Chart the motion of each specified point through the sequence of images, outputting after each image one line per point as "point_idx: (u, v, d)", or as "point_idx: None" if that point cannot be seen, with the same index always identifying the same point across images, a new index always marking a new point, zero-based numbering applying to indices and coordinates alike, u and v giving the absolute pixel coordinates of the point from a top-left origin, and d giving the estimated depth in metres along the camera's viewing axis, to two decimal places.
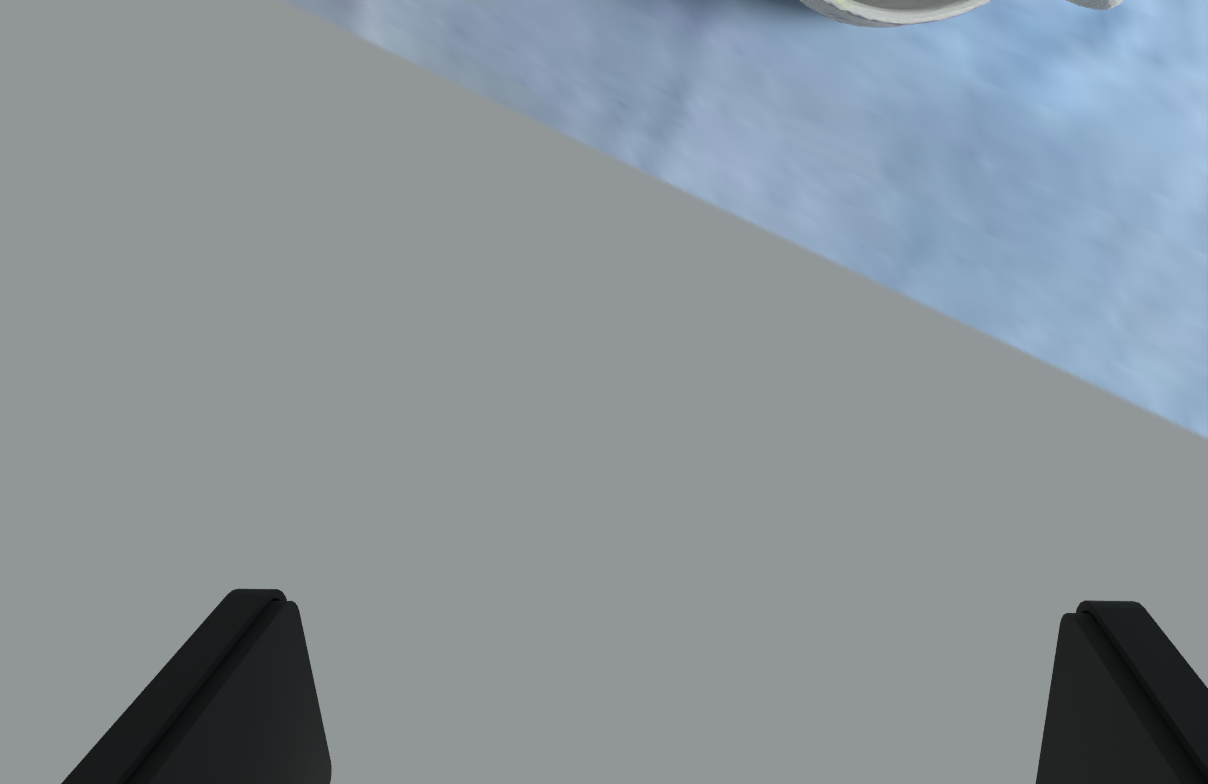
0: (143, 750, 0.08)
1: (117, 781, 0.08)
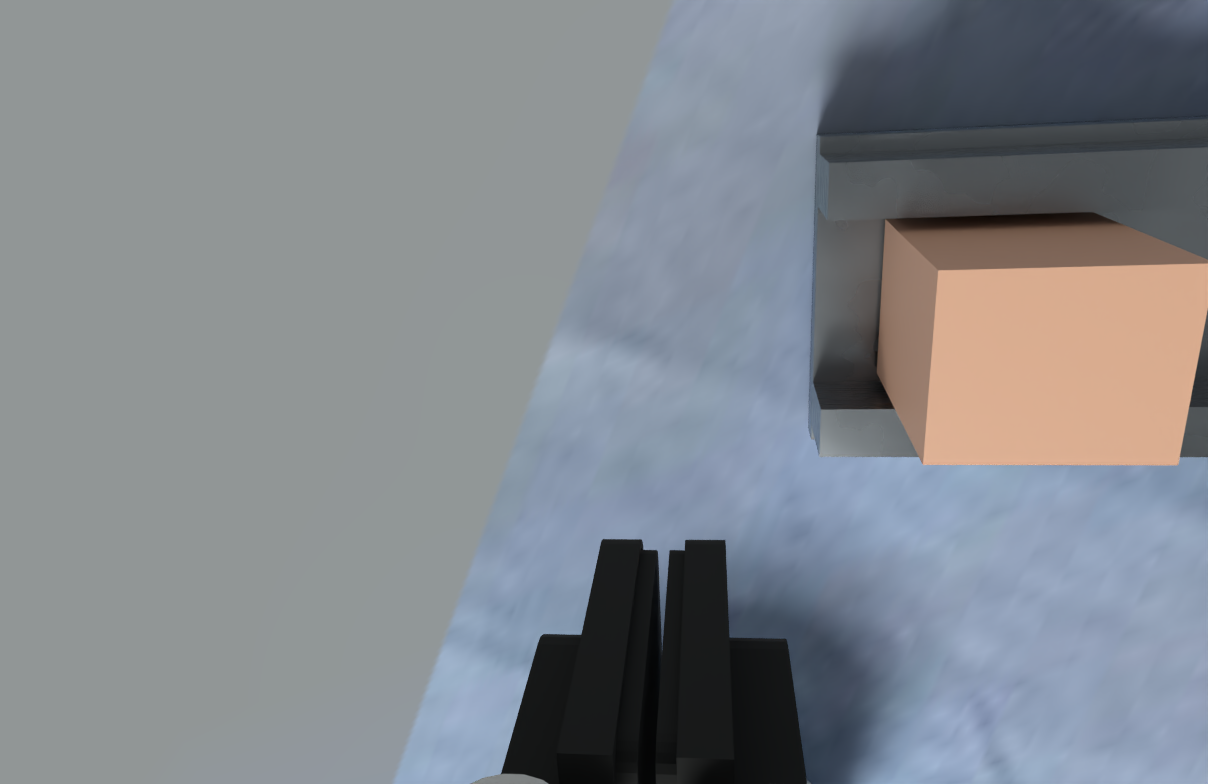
0: (620, 675, 0.09)
1: (621, 700, 0.08)
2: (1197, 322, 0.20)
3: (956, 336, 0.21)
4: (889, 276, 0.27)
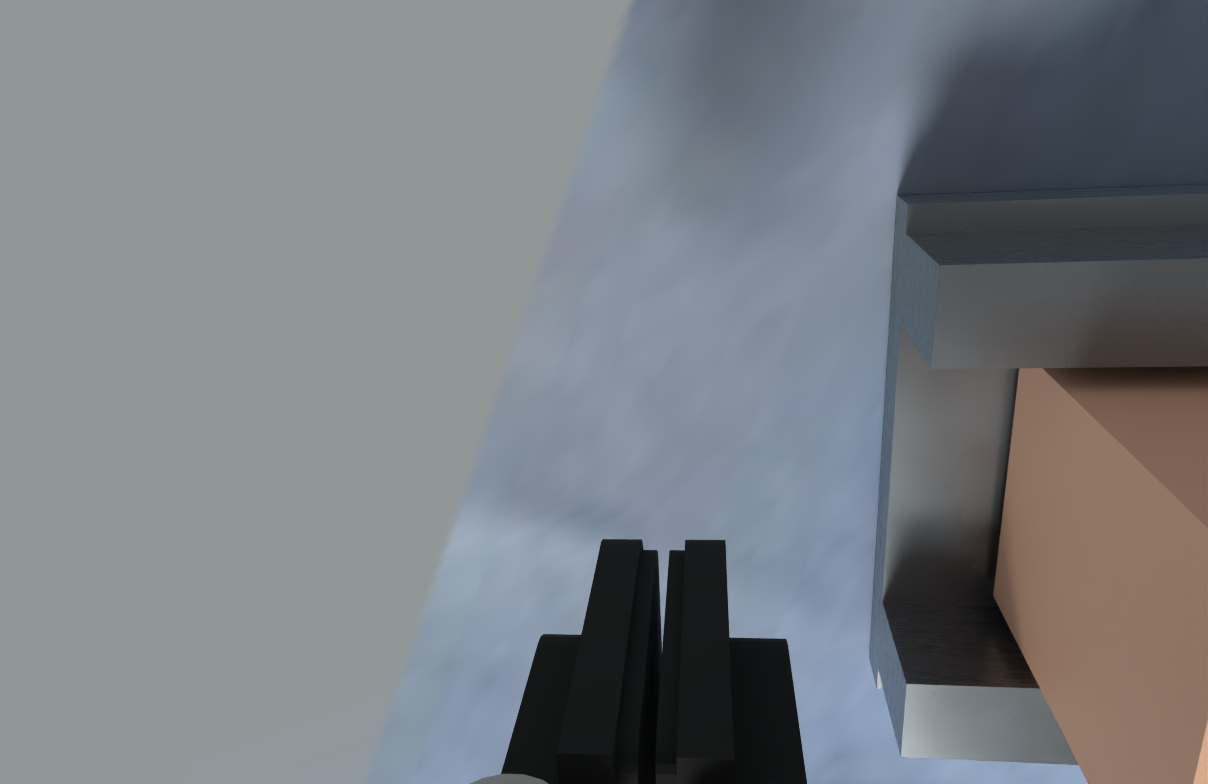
0: (620, 675, 0.09)
1: (621, 700, 0.08)
2: None
3: None
4: (1034, 457, 0.15)
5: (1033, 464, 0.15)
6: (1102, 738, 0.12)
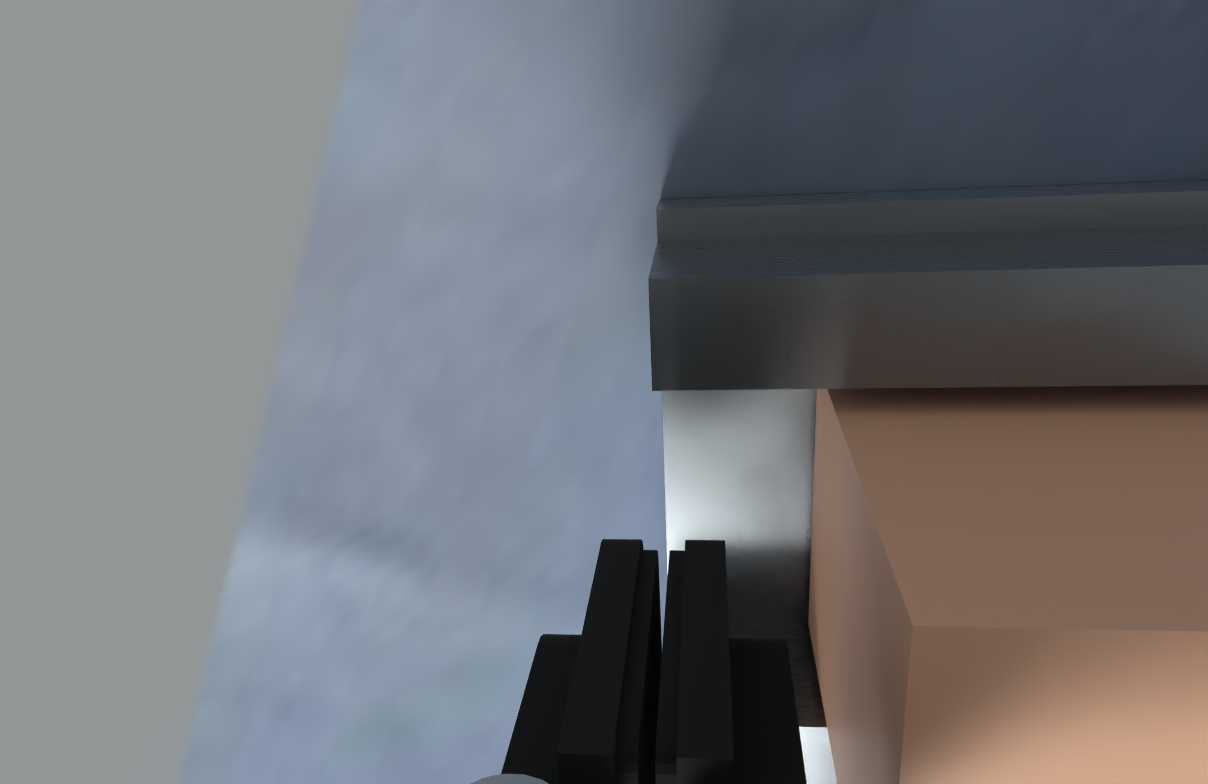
0: (620, 675, 0.09)
1: (621, 700, 0.08)
2: None
3: (958, 772, 0.08)
4: (823, 481, 0.14)
5: (823, 489, 0.14)
6: None
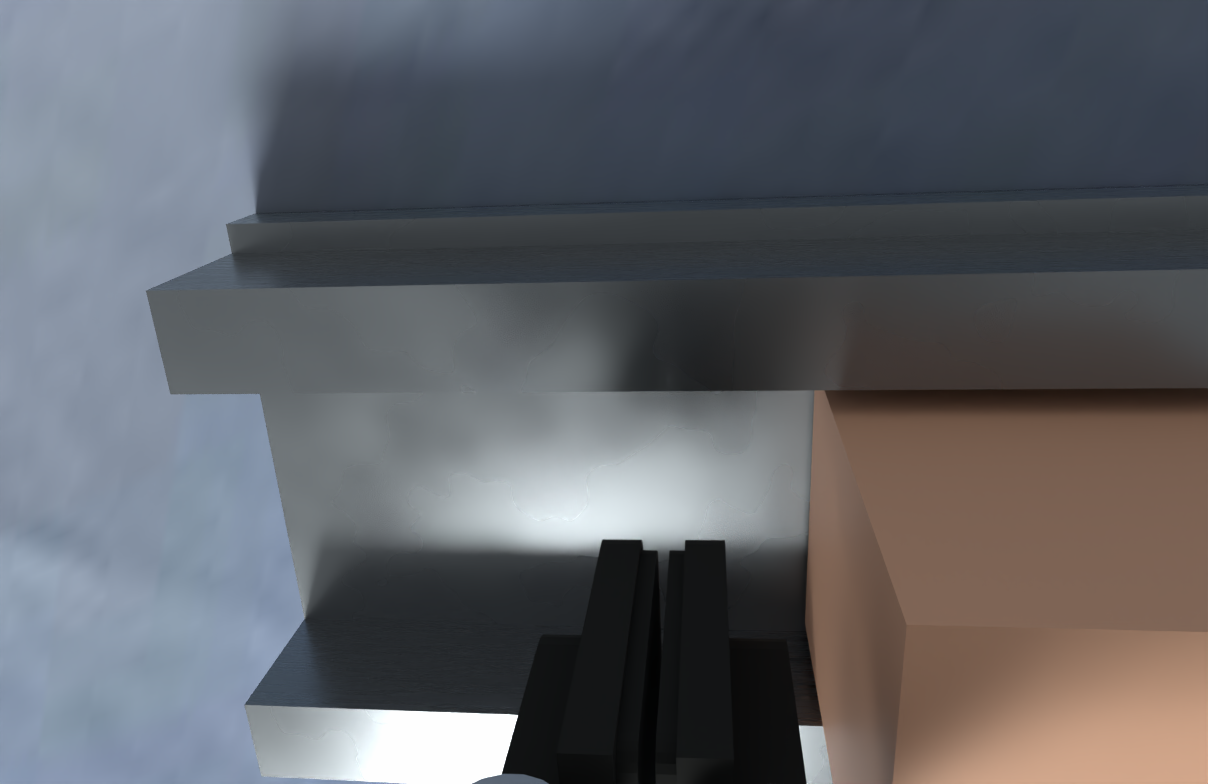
0: (620, 675, 0.09)
1: (621, 700, 0.08)
2: None
3: (953, 770, 0.08)
4: (820, 482, 0.14)
5: (820, 489, 0.14)
6: None
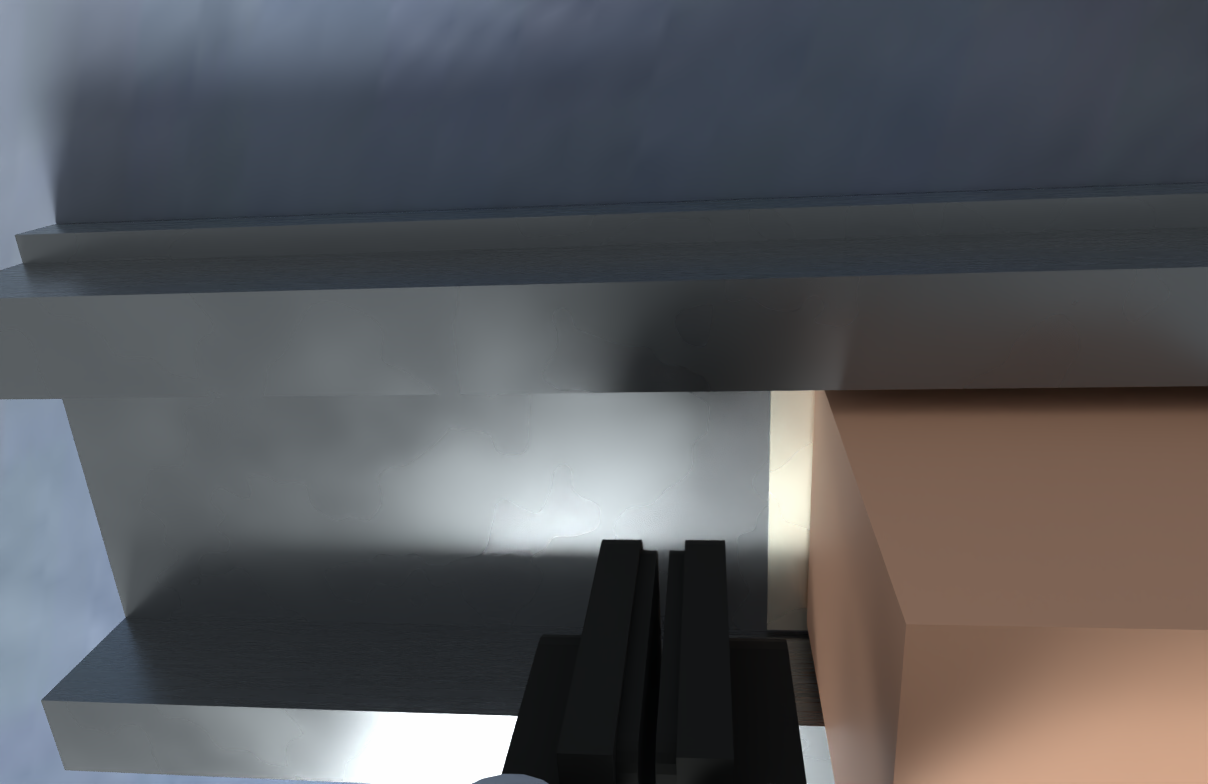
0: (620, 675, 0.09)
1: (620, 700, 0.08)
2: None
3: (953, 770, 0.08)
4: (820, 482, 0.14)
5: (821, 489, 0.14)
6: None
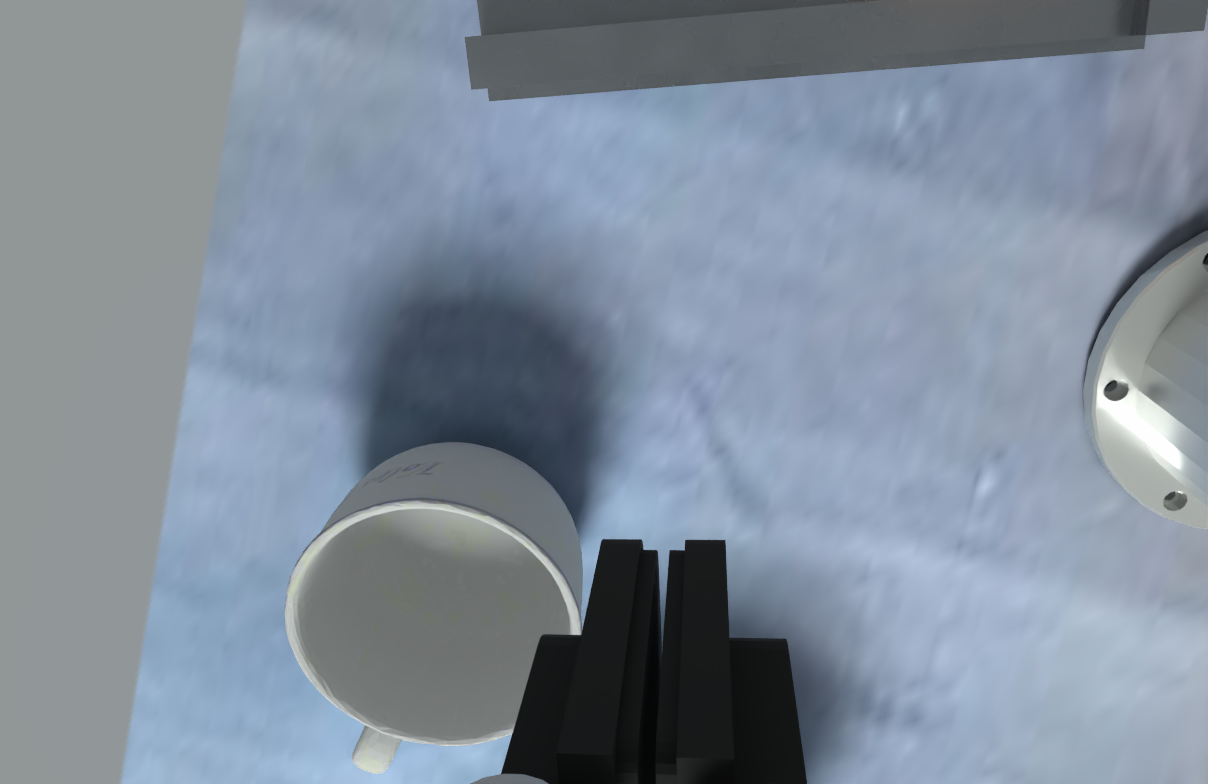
0: (620, 675, 0.09)
1: (621, 700, 0.08)
2: None
3: None
4: None
5: None
6: None
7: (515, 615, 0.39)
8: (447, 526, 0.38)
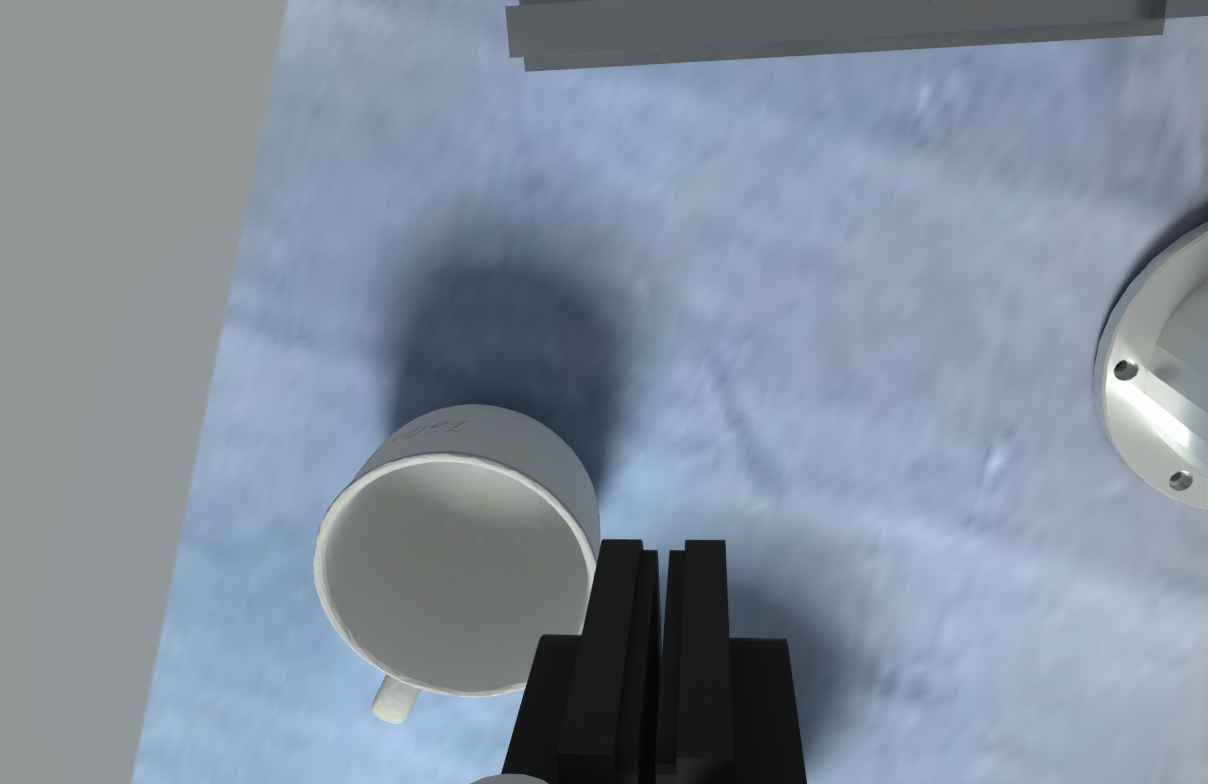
0: (620, 675, 0.09)
1: (621, 700, 0.08)
2: None
3: None
4: None
5: None
6: None
7: (532, 578, 0.40)
8: (469, 488, 0.39)
